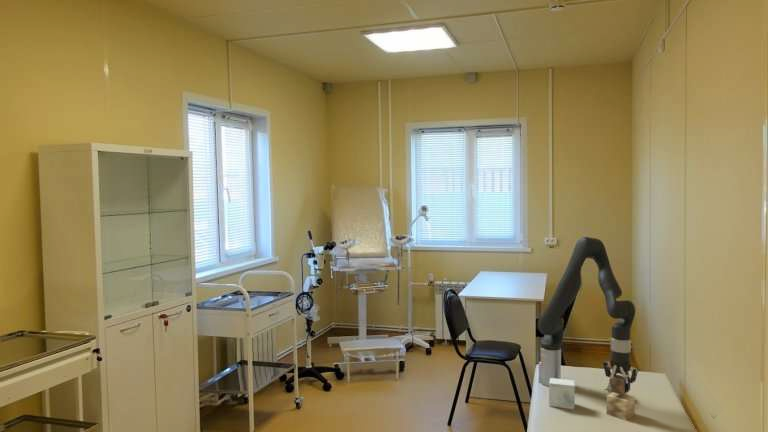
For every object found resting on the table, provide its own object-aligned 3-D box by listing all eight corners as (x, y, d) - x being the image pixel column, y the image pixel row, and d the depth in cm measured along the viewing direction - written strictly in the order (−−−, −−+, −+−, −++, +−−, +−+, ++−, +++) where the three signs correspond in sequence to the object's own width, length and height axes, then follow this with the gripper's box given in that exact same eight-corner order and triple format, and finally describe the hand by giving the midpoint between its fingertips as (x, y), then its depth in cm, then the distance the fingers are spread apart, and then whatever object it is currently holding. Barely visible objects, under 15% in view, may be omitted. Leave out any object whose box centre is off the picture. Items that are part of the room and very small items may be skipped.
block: (611, 391, 228) (611, 377, 228) (616, 388, 231) (616, 374, 231) (623, 395, 224) (623, 380, 224) (628, 391, 228) (628, 377, 227)
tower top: (606, 405, 228) (606, 395, 228) (615, 399, 234) (615, 390, 233) (625, 410, 222) (626, 401, 222) (634, 405, 228) (634, 395, 228)
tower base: (606, 414, 229) (606, 405, 228) (615, 409, 234) (615, 399, 234) (625, 420, 223) (625, 411, 222) (634, 415, 228) (634, 405, 228)
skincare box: (548, 406, 237) (548, 382, 236) (549, 400, 243) (549, 377, 242) (574, 409, 233) (574, 385, 233) (574, 403, 239) (575, 380, 239)
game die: (620, 406, 245) (630, 394, 238) (601, 398, 246) (611, 386, 240) (620, 390, 251) (631, 378, 245) (602, 383, 253) (612, 370, 247)
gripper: (599, 347, 229) (599, 387, 231) (634, 355, 219) (633, 397, 220) (607, 343, 235) (607, 382, 236) (642, 350, 224) (641, 392, 225)
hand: (620, 389), depth 228 cm, fingers closed on block, 5 cm apart
